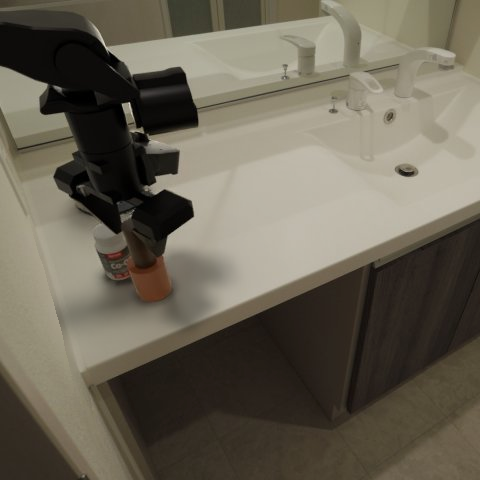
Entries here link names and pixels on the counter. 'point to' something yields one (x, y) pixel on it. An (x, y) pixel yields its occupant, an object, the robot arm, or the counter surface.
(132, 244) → the brown cylinder
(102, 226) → the pill bottle
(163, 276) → the orange cylinder cap
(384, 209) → the counter surface
